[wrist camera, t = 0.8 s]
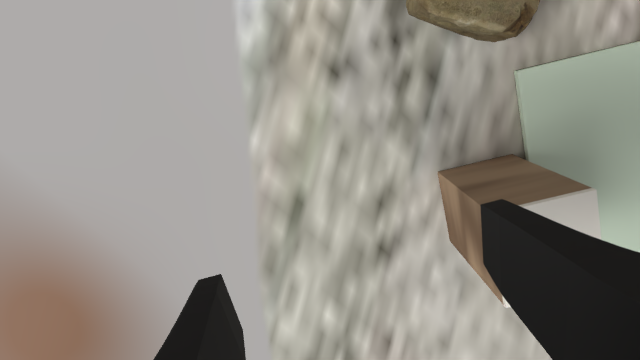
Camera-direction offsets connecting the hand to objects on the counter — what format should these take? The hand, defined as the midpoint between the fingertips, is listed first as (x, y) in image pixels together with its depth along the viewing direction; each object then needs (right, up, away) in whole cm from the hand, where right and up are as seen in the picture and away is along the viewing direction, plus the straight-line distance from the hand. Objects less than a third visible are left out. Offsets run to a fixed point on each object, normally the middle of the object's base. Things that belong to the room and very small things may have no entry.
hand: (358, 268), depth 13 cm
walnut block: (+9, +1, +16) cm, 18 cm away
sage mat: (+17, +3, +15) cm, 23 cm away
